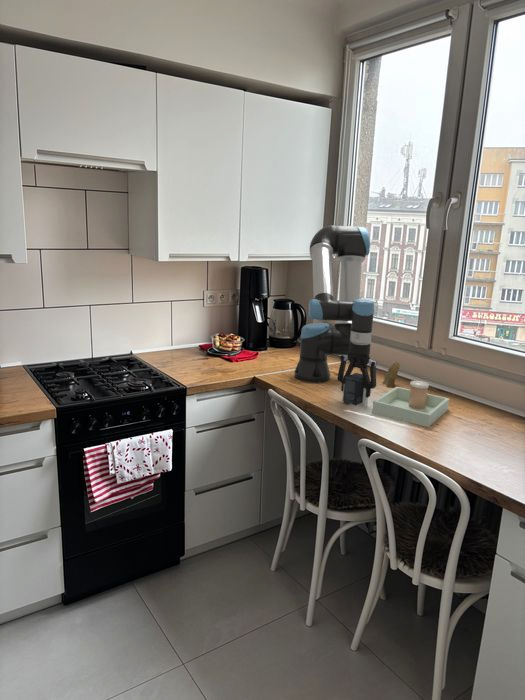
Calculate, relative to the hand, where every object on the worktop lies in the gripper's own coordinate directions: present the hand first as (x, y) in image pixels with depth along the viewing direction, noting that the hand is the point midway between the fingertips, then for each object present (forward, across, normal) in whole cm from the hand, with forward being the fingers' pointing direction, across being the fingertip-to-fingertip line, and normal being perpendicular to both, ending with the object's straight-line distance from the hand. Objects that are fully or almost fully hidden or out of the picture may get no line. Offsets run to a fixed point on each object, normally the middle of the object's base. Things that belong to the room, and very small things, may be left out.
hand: (354, 402), depth 198 cm
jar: (0, +20, +11) cm, 23 cm away
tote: (0, +20, +4) cm, 20 cm away
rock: (+1, +1, +30) cm, 30 cm away
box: (+1, 0, 0) cm, 1 cm away
